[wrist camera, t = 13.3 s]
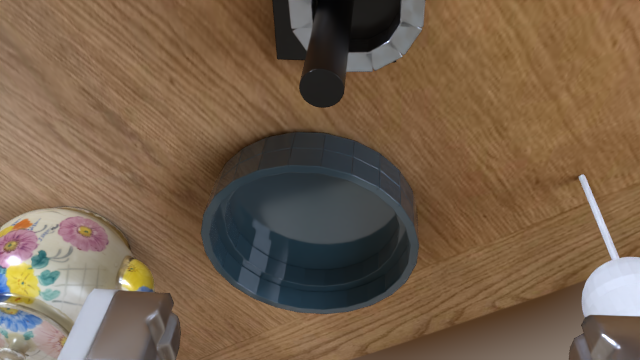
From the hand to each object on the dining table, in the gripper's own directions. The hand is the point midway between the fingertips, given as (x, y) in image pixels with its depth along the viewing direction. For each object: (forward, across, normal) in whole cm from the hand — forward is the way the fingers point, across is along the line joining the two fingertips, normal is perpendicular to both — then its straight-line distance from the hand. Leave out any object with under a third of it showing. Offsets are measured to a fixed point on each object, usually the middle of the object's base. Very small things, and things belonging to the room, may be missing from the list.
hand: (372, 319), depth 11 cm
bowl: (+27, +4, +24) cm, 37 cm away
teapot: (+28, +26, +29) cm, 48 cm away
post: (+28, +2, +5) cm, 28 cm away
